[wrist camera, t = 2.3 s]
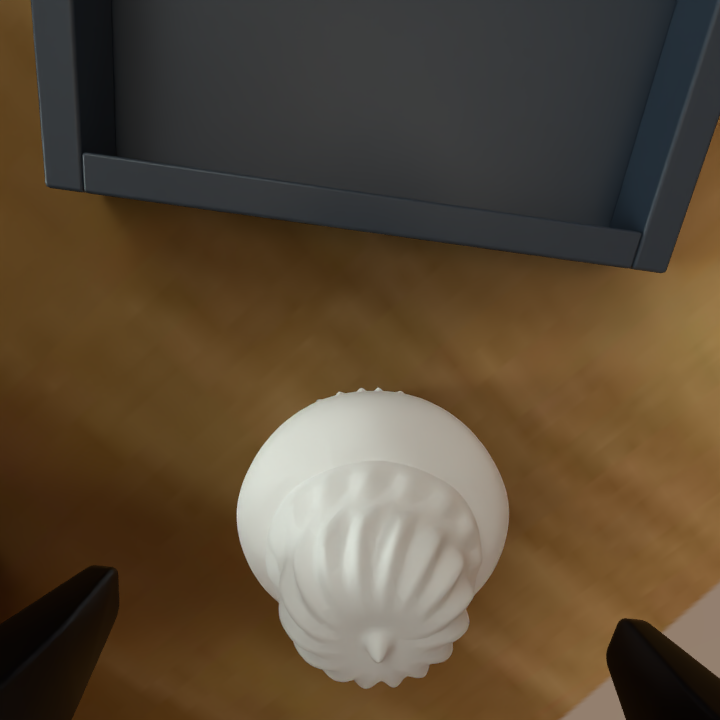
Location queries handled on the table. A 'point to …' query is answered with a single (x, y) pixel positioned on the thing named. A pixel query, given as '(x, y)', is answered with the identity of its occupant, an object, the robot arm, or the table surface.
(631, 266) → the tray
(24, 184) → the table surface
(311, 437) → the muffin
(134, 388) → the table surface
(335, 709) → the table surface
